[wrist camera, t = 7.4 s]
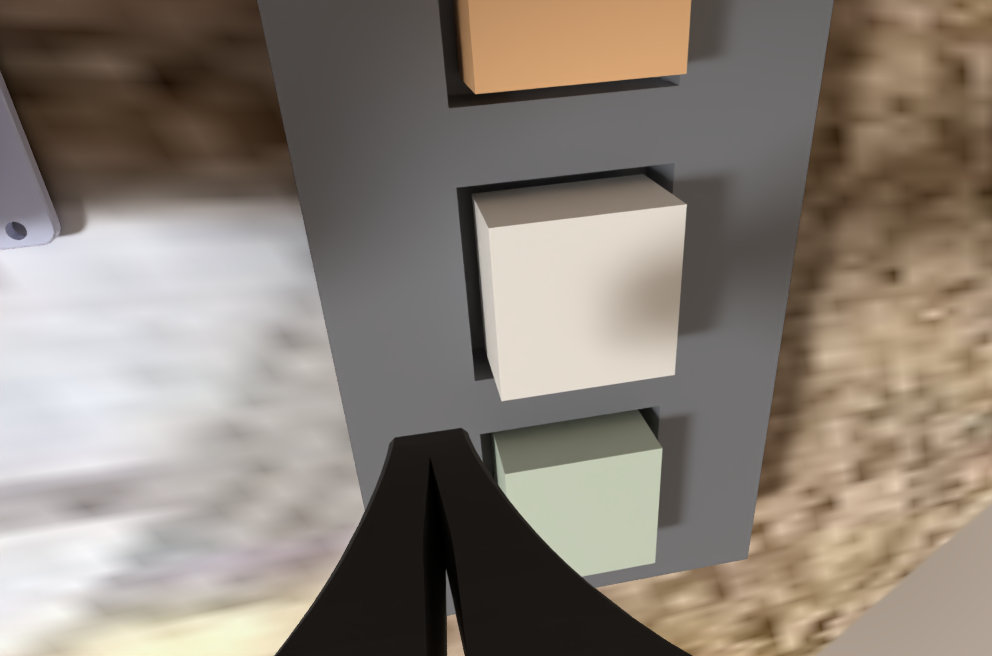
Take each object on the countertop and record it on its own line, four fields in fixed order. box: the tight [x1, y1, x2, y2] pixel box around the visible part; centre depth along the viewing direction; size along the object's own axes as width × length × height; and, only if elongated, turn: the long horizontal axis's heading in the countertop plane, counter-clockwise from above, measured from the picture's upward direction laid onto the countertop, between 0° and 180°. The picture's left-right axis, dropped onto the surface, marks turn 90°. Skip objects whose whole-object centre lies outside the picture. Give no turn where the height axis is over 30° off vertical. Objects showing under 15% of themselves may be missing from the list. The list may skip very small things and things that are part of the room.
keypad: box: [257, 0, 834, 616], centre depth 20 cm, size 14×26×3 cm, turn 4°
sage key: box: [490, 409, 662, 577], centre depth 23 cm, size 5×5×3 cm
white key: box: [472, 174, 687, 401], centre depth 19 cm, size 5×5×3 cm
